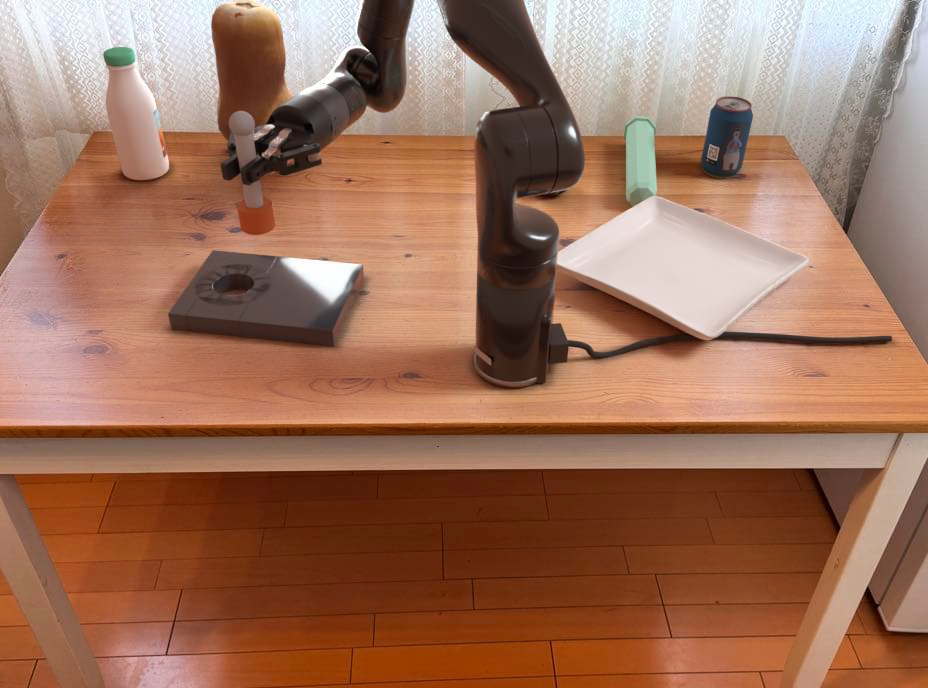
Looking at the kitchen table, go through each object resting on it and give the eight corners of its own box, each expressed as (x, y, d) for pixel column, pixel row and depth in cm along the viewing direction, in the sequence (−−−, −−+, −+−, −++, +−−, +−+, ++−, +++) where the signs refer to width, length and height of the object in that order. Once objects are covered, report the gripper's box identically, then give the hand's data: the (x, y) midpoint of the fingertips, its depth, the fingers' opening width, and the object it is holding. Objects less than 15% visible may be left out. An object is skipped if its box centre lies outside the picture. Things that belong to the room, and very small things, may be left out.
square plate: (708, 361, 116) (714, 336, 114) (543, 279, 130) (544, 256, 127) (808, 277, 131) (815, 254, 129) (650, 212, 145) (654, 190, 143)
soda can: (715, 158, 161) (728, 91, 153) (748, 171, 157) (764, 104, 149) (691, 169, 157) (703, 102, 149) (724, 184, 153) (739, 115, 145)
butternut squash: (314, 142, 163) (299, -5, 146) (285, 175, 153) (266, 21, 137) (242, 133, 165) (219, -13, 149) (209, 165, 155) (181, 13, 139)
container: (655, 178, 141) (651, 110, 159) (618, 189, 143) (618, 121, 161) (664, 211, 144) (660, 141, 163) (628, 220, 146) (627, 150, 165)
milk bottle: (163, 182, 150) (135, 60, 137) (116, 181, 150) (84, 59, 137) (175, 161, 156) (150, 42, 143) (130, 160, 156) (101, 41, 143)
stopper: (279, 219, 119) (263, 106, 109) (269, 236, 115) (251, 121, 105) (247, 216, 119) (228, 103, 109) (235, 233, 116) (215, 118, 106)
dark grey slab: (364, 279, 129) (363, 264, 128) (334, 346, 117) (332, 330, 116) (215, 264, 131) (212, 249, 130) (171, 329, 119) (167, 313, 118)
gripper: (262, 84, 121) (180, 135, 109) (353, 103, 117) (278, 157, 105) (270, 138, 126) (192, 192, 114) (357, 157, 122) (286, 215, 110)
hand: (234, 175), depth 110 cm, fingers closed on stopper, 2 cm apart
